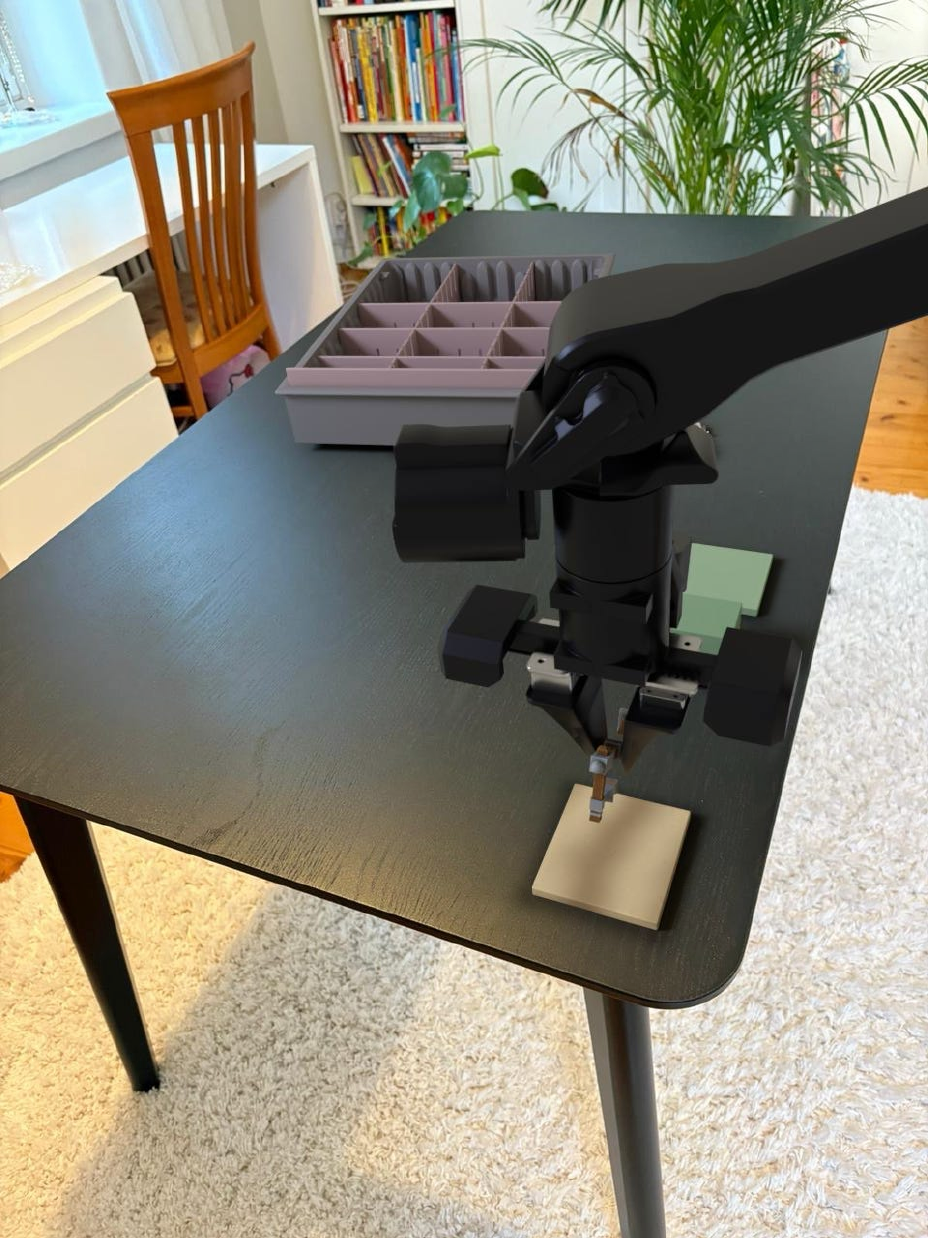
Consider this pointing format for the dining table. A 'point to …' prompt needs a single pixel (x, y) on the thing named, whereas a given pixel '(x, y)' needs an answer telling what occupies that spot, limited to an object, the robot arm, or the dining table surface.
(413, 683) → the dining table surface
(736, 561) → the sage pad
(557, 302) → the organizer tray
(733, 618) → the sage block
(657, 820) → the birch pad
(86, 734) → the dining table surface
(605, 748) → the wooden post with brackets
